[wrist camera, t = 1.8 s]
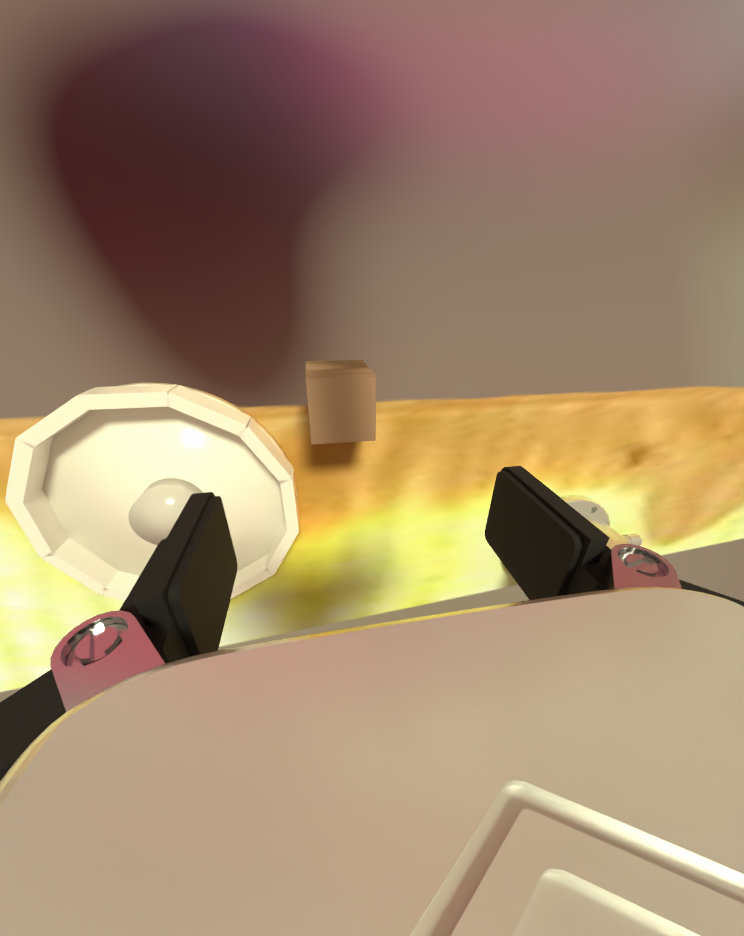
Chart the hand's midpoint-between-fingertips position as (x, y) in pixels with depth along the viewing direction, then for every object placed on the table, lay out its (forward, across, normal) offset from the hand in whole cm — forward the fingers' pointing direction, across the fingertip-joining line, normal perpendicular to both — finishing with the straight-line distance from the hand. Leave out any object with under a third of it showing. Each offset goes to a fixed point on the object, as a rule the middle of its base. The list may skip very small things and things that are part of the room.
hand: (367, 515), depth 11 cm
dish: (+18, +14, +9) cm, 24 cm away
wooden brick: (+18, 0, 0) cm, 18 cm away
